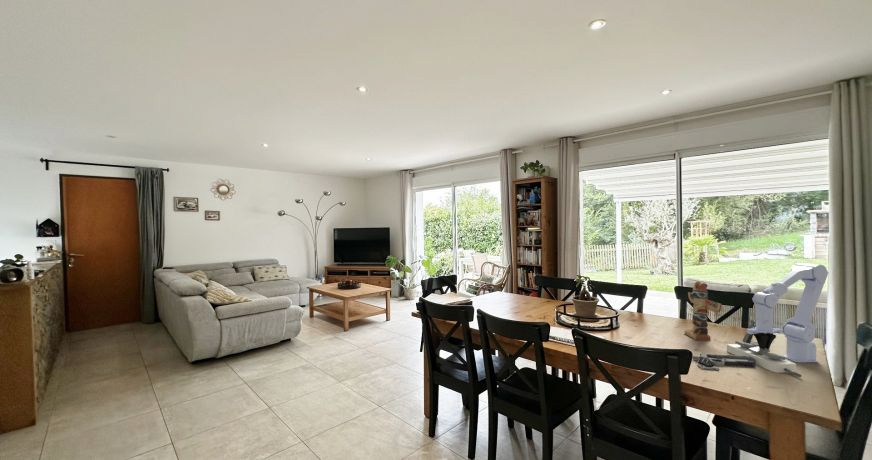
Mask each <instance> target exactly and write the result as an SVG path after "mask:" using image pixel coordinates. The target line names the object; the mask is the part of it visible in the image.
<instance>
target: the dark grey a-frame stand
mask: <svg viewBox="0 0 872 460" xmlns="http://www.w3.org/2000/svg"><path fill="white" fill-rule="evenodd" d="M749 323H750V324H749V327H748V329H751V328H755V327H756V319H751V320H750V321H749ZM753 337H754V335H753V334H748V333H747V331H746V332H745V334H744V337H743V339H742V342H745V343H749V344H751V345H754V346H755V347H759V345H758V342H757V341H752V340H753V339H752V338H753Z"/></svg>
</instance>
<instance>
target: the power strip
mask: <svg viewBox="0 0 872 460" xmlns="http://www.w3.org/2000/svg"><path fill="white" fill-rule="evenodd" d="M748 348H749V347H743V346H740V345H738V344H735V343H734V344H733V343H731V344H729V343H727V344H726V352H727V353H729V354H730V355H733V356H735V355H737V356H747V357H752V358H753V359H754V360H755V361H756V362H755V366H756V365H757V366H759V367H762V368H763V369H765V370H768V371H770V372H772V373H789V374H791V375H793V376H796V377H798V378H802V374H801V373H799V372H797V364H796V363H794V362H793V361H791V360H790V361H789V360H787V359H785V360H780V359H774V358H770V357H768V356H765V355H763V353H761V354H755V353H753V352H750V351H749V350H748Z"/></svg>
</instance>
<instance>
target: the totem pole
mask: <svg viewBox="0 0 872 460" xmlns="http://www.w3.org/2000/svg"><path fill="white" fill-rule="evenodd" d="M707 287H708V284H707V283H702V282H701V281H698V280H697V281H695V282H694V284H693V288H692V292H690V291H689V292H687V295H688V299H689V301H690V303H692V304H693V311H692V313H693V314H692V317H691V318H692V321H691V322H692V325H693V327H692V329H686V330H684V335H686V336H688V337H690V338H692V339H693V340H695V341H706V342H707V341H709V342H710V341H711V340H712V339H711V335H710V334H709V330H708V326H709V324H708V321H709V320H708V319H709V317H708V316H709V315H708V313H709V311H711V312H713V313H719V312H720V311H722V307H723V304H722V303H720V302H716V301H714V300H709V297H708V295H709V293H708V289H707Z"/></svg>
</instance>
